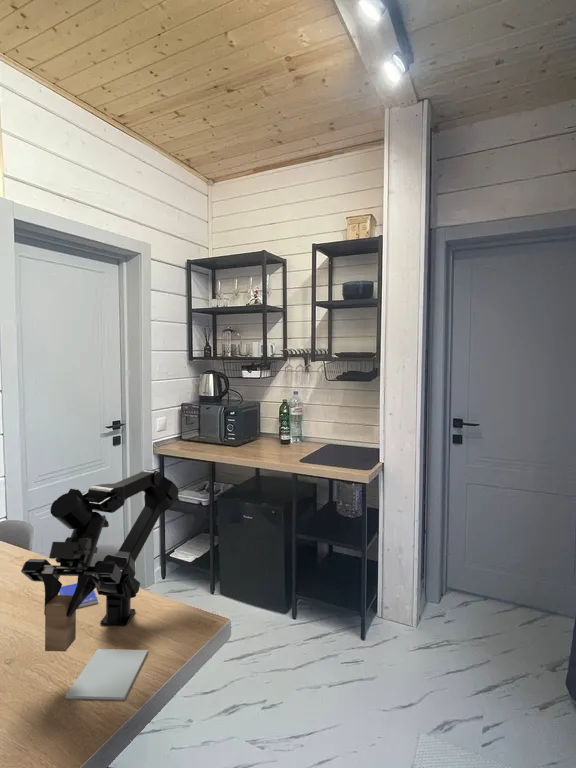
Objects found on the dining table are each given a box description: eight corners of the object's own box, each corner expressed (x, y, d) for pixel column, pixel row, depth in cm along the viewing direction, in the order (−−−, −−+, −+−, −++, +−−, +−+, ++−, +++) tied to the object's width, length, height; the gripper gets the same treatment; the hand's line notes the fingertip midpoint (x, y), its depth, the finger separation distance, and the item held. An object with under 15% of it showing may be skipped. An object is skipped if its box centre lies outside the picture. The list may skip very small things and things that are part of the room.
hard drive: (97, 599, 116) (90, 580, 126) (63, 607, 112) (58, 586, 122) (97, 604, 116) (90, 585, 126) (63, 613, 112) (58, 592, 122)
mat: (97, 651, 96) (97, 648, 96) (147, 652, 96) (147, 650, 96) (65, 698, 82) (65, 695, 82) (124, 699, 82) (124, 697, 82)
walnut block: (56, 638, 89) (56, 594, 89) (75, 638, 89) (76, 595, 89) (45, 651, 85) (45, 605, 85) (65, 651, 85) (65, 606, 85)
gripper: (26, 520, 91) (-11, 601, 80) (116, 523, 90) (91, 604, 80) (47, 543, 99) (16, 619, 88) (130, 545, 98) (109, 622, 88)
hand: (57, 616), depth 86 cm, fingers closed on walnut block, 4 cm apart
